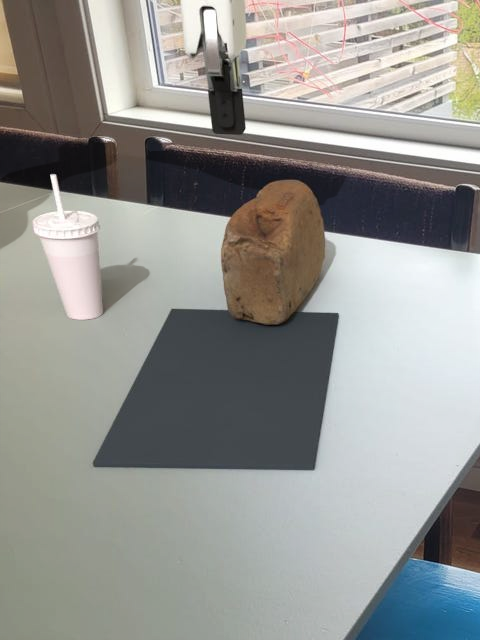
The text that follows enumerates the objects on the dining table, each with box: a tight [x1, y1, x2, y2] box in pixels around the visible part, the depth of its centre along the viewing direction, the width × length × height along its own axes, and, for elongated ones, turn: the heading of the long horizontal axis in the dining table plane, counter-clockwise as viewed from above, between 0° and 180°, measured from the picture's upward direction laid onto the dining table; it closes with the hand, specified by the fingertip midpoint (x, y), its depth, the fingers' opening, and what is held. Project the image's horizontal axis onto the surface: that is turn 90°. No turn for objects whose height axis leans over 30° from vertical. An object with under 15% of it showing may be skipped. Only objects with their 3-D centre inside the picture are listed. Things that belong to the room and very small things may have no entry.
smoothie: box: [32, 173, 104, 321], centre depth 102 cm, size 6×6×14 cm
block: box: [220, 179, 326, 325], centre depth 109 cm, size 11×8×20 cm
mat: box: [92, 308, 340, 471], centre depth 95 cm, size 18×34×1 cm, turn 3°
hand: (229, 132), depth 103 cm, fingers closed
